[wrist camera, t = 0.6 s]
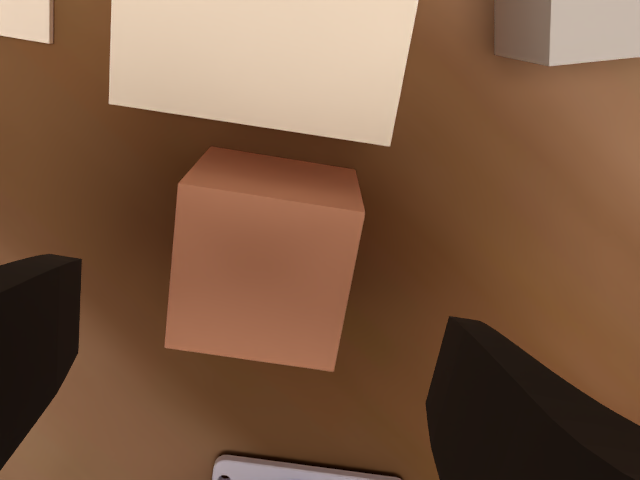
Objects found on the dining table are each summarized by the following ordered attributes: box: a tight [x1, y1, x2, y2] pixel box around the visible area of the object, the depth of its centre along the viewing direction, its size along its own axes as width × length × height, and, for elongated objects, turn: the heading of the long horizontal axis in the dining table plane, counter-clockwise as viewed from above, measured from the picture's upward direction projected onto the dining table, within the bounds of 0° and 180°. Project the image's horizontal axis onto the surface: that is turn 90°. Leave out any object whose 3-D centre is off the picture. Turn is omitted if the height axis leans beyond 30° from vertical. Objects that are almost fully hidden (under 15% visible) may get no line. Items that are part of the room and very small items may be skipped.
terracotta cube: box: [164, 146, 365, 372], centre depth 19 cm, size 5×5×5 cm
